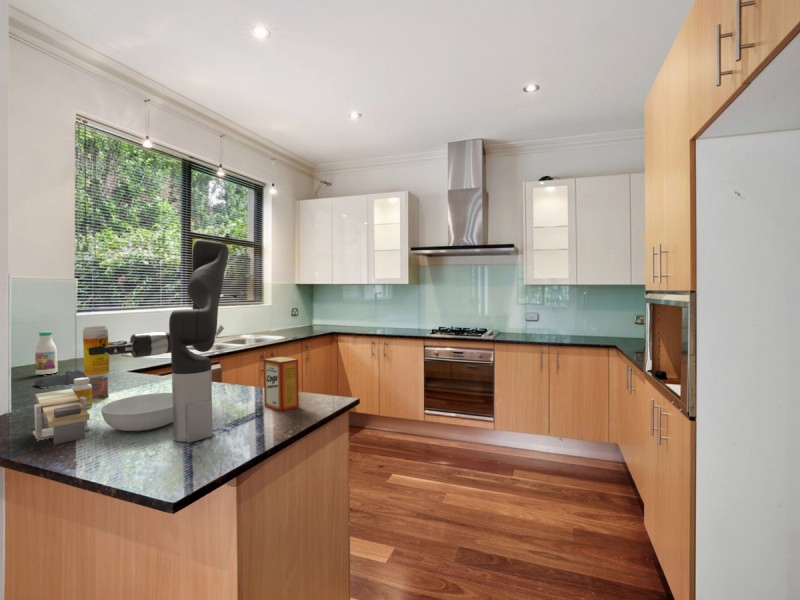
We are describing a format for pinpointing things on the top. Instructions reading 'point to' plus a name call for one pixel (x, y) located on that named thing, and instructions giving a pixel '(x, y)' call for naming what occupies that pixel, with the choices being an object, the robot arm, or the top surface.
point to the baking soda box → (281, 383)
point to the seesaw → (61, 407)
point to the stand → (60, 428)
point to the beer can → (95, 363)
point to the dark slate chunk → (60, 379)
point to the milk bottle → (46, 354)
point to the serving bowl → (139, 412)
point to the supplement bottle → (83, 390)
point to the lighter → (99, 387)
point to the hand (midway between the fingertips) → (86, 350)
